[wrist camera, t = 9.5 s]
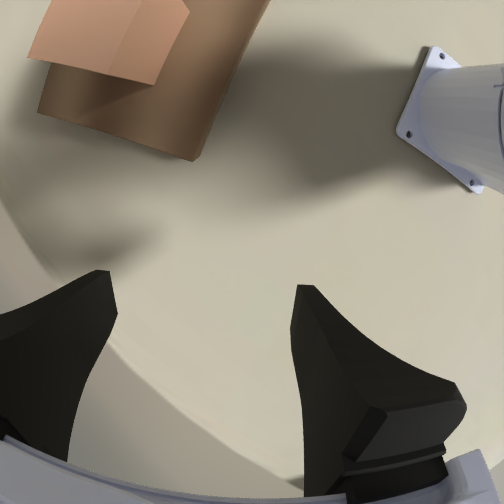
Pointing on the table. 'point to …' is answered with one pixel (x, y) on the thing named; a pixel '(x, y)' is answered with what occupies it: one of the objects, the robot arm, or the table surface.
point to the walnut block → (163, 83)
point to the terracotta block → (110, 35)
